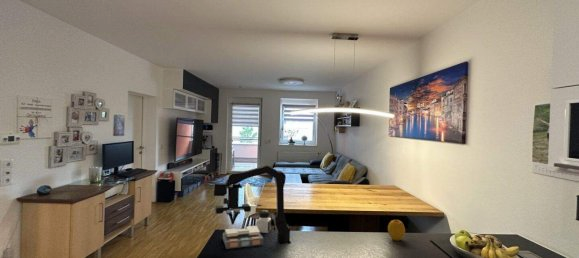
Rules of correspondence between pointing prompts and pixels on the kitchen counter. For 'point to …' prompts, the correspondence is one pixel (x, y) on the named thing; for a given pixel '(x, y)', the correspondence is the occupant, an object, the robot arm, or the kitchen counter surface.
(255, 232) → the rocker
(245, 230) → the rocker
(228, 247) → the switch box
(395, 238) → the yellow oval fruit
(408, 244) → the kitchen counter surface
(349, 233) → the kitchen counter surface
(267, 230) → the medicine bottle
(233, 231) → the rocker
